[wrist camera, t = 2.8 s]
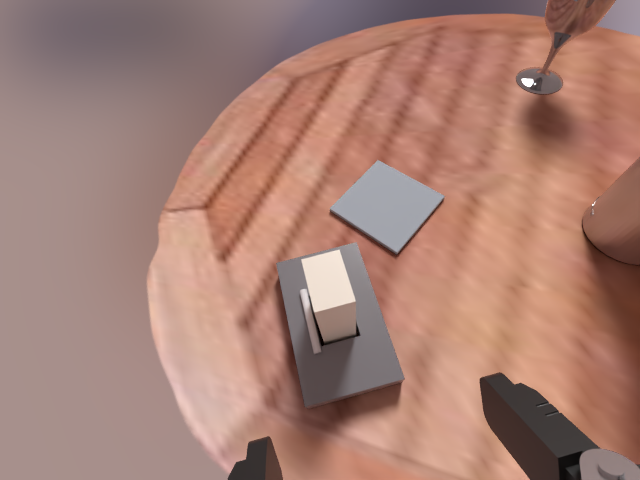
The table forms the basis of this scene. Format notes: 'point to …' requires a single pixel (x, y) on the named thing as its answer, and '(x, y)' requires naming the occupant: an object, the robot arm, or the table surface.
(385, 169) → the mat
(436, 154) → the table surface
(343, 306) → the tall cream pillar
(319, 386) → the gray slotted base
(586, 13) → the wine glass
